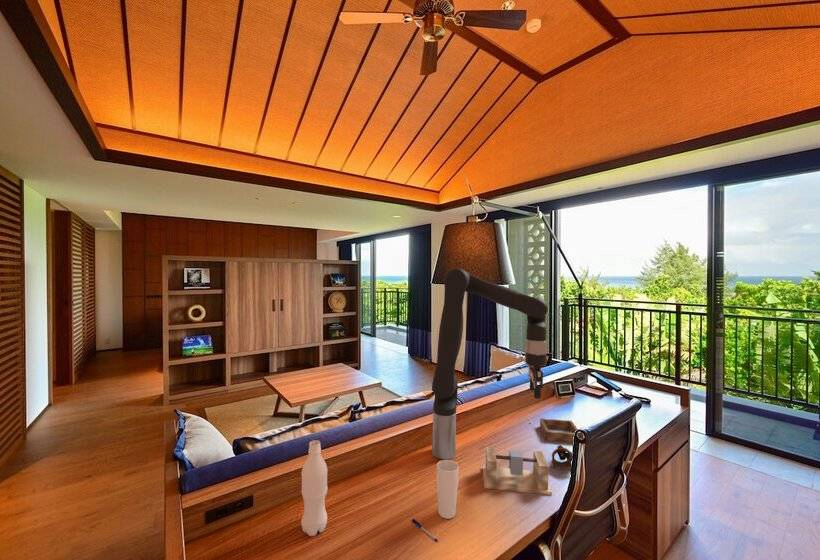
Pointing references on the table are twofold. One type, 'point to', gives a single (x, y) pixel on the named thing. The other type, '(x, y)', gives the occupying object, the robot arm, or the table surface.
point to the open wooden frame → (557, 424)
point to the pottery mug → (562, 458)
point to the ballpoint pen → (424, 529)
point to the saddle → (516, 462)
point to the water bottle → (314, 490)
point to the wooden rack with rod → (526, 483)
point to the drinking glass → (447, 487)
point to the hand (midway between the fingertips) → (534, 394)
